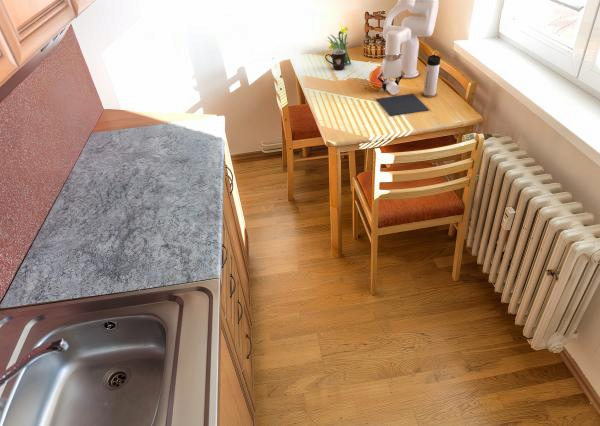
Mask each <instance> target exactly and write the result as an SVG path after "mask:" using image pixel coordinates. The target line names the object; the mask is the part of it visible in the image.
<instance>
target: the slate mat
mask: <svg viewBox="0 0 600 426" xmlns="http://www.w3.org/2000/svg"><path fill="white" fill-rule="evenodd" d="M376 101H377V102H378V103H379V104H380V105H381V107H382V108H383V109H384V110H385V111H386V113H387V114H388V115H389V116H390V117H393V116H399V115H405V114H413V113H419V112H420V113H421V112H426V111H427V112H428V111H430V109H429V108H428V107H427V106H426V105H425V104H424V103H423V102H422V101H421V100H420V99H419V98H418V97H417V96H416V95H415V94H413V93H407V94H401V95H393V96H386V97H380V98H376Z"/></svg>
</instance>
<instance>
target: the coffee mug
mask: <svg viewBox="0 0 600 426" xmlns="http://www.w3.org/2000/svg"><path fill="white" fill-rule="evenodd" d="M330 53H331V54H330ZM330 53H327V54H325V56H324V58H325V60H326V61H327V62H328V63H329V64H331V65H332V69H333V70H334V71H342V70H344V69H345V54H346V51H345V50H341V49H338V50H333V49H332V50H331V52H330ZM327 56H330V57H331V60H332V61H330V60H328V59H327Z"/></svg>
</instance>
